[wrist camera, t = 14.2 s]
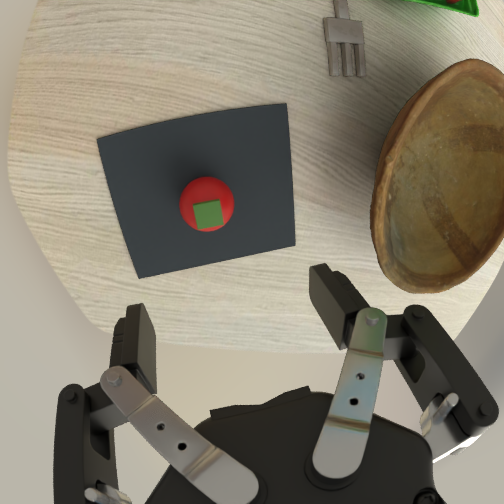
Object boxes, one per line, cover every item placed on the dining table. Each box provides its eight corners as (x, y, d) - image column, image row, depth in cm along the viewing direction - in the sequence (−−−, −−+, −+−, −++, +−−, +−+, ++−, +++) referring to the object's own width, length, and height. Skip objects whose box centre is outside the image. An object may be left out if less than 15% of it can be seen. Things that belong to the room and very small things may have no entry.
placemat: (138, 277, 29) (138, 278, 28) (97, 139, 21) (96, 139, 21) (294, 244, 31) (295, 245, 31) (286, 103, 23) (286, 103, 23)
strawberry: (185, 222, 27) (185, 247, 23) (175, 176, 24) (172, 193, 21) (233, 213, 27) (241, 236, 23) (226, 166, 25) (234, 181, 21)
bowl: (278, 106, 23) (333, 119, 15) (446, 38, 22) (516, 44, 13) (354, 277, 35) (398, 333, 27) (477, 192, 33) (528, 223, 25)
